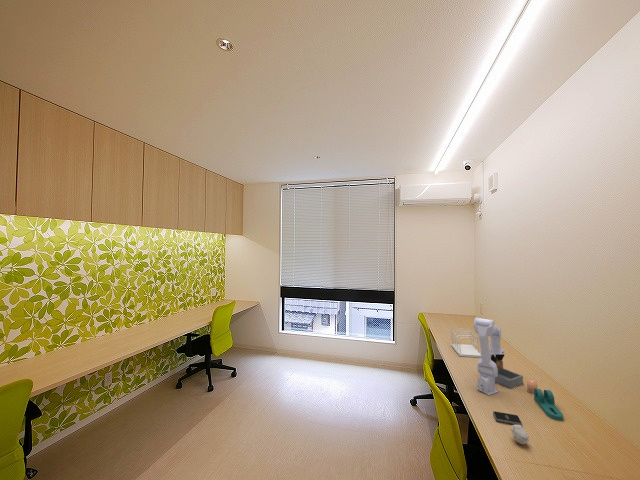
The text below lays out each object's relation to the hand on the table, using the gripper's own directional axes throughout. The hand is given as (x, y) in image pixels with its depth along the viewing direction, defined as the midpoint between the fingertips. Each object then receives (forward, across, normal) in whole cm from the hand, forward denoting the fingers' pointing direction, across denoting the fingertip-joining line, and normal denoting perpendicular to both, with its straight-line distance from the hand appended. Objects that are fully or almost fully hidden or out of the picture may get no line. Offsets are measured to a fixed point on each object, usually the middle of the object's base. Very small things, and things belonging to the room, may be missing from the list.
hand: (496, 365), depth 176 cm
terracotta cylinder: (+8, +2, -20) cm, 22 cm away
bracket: (+9, -10, -34) cm, 36 cm away
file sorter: (+9, +23, +40) cm, 47 cm away
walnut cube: (+2, 0, 0) cm, 2 cm away
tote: (+8, 0, -3) cm, 9 cm away
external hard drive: (+9, -38, -29) cm, 49 cm away
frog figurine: (+8, -49, -41) cm, 65 cm away
